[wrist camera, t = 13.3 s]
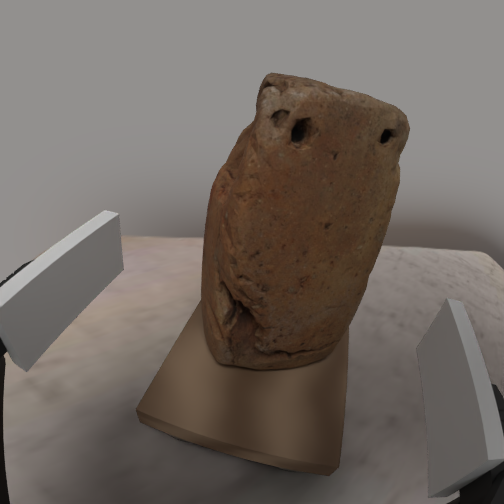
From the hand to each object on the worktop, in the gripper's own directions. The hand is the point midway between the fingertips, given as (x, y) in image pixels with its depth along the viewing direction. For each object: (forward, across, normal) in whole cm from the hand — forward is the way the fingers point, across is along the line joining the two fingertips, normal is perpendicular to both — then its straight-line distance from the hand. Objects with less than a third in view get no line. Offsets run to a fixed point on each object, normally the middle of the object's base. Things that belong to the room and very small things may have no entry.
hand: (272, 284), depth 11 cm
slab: (+8, 0, -18) cm, 19 cm away
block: (+9, 0, -13) cm, 16 cm away
